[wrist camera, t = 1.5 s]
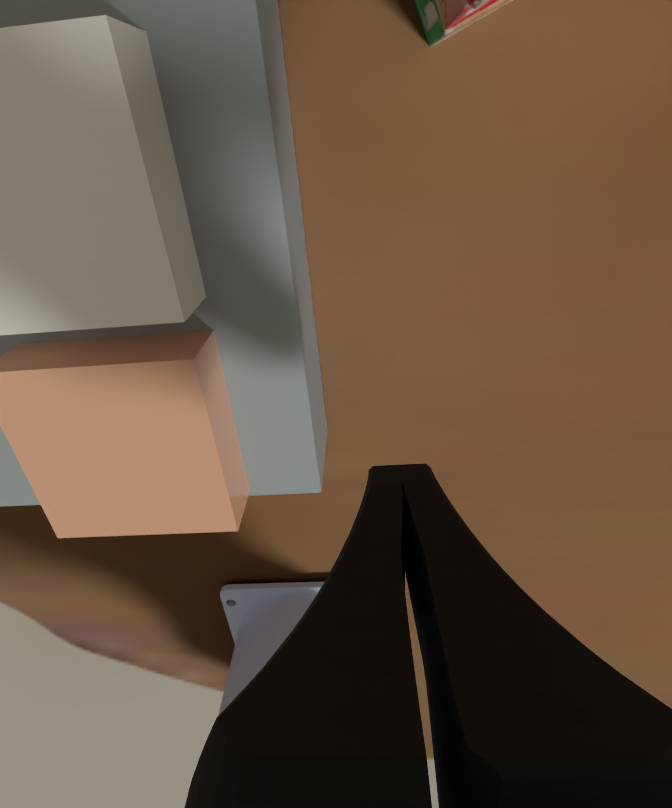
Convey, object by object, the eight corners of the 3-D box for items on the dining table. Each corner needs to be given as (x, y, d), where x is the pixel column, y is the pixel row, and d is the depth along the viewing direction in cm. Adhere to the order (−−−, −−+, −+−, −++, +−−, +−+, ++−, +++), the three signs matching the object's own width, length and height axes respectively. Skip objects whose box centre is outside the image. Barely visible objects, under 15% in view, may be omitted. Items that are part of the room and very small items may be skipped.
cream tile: (206, 296, 14) (184, 322, 12) (4, 312, 14) (-45, 338, 12) (146, 31, 11) (106, 15, 9) (-106, 62, 11) (-191, 51, 10)
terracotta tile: (249, 490, 17) (237, 531, 15) (87, 497, 18) (57, 538, 16) (213, 330, 14) (194, 359, 13) (19, 343, 15) (-27, 373, 13)
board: (327, 429, 21) (321, 492, 17) (-8, 448, 22) (-77, 510, 18) (275, -13, 13) (247, -59, 10) (-221, 49, 15) (-401, 27, 11)
